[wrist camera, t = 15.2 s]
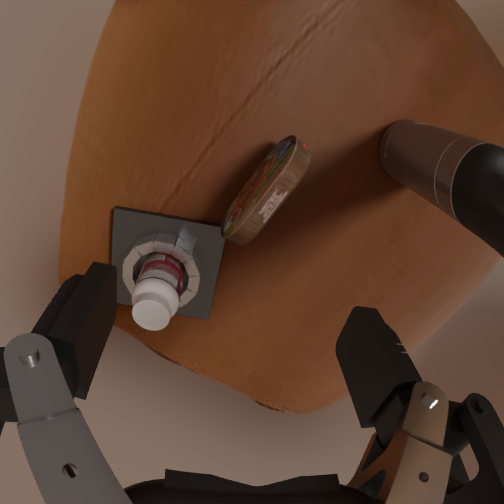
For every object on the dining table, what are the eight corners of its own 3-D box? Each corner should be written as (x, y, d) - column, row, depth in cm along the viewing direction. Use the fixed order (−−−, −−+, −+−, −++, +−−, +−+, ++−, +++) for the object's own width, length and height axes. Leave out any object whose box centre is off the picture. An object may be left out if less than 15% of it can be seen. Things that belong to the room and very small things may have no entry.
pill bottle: (171, 293, 48) (159, 343, 38) (136, 272, 46) (117, 319, 36) (193, 265, 46) (185, 313, 36) (157, 241, 44) (139, 285, 34)
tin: (286, 130, 39) (300, 139, 32) (305, 144, 40) (322, 157, 33) (218, 219, 44) (216, 247, 37) (237, 231, 45) (239, 260, 38)
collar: (227, 225, 45) (227, 236, 42) (208, 315, 52) (207, 329, 49) (116, 205, 42) (108, 215, 39) (113, 298, 49) (107, 311, 46)
